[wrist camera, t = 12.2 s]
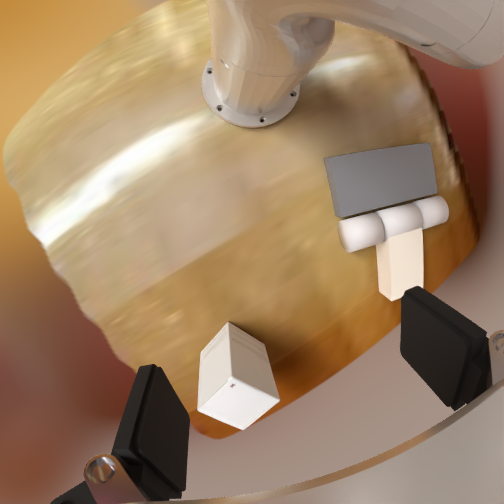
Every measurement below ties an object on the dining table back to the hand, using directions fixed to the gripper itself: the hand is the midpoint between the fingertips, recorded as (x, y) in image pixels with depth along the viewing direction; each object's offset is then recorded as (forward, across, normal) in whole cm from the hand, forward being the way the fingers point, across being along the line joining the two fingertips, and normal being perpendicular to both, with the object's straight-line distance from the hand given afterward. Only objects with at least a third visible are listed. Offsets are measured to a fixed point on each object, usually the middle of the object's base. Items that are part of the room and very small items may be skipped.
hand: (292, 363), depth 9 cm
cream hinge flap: (+28, -22, +9) cm, 37 cm away
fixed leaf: (+28, -22, 0) cm, 36 cm away
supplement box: (+28, +6, +18) cm, 34 cm away
